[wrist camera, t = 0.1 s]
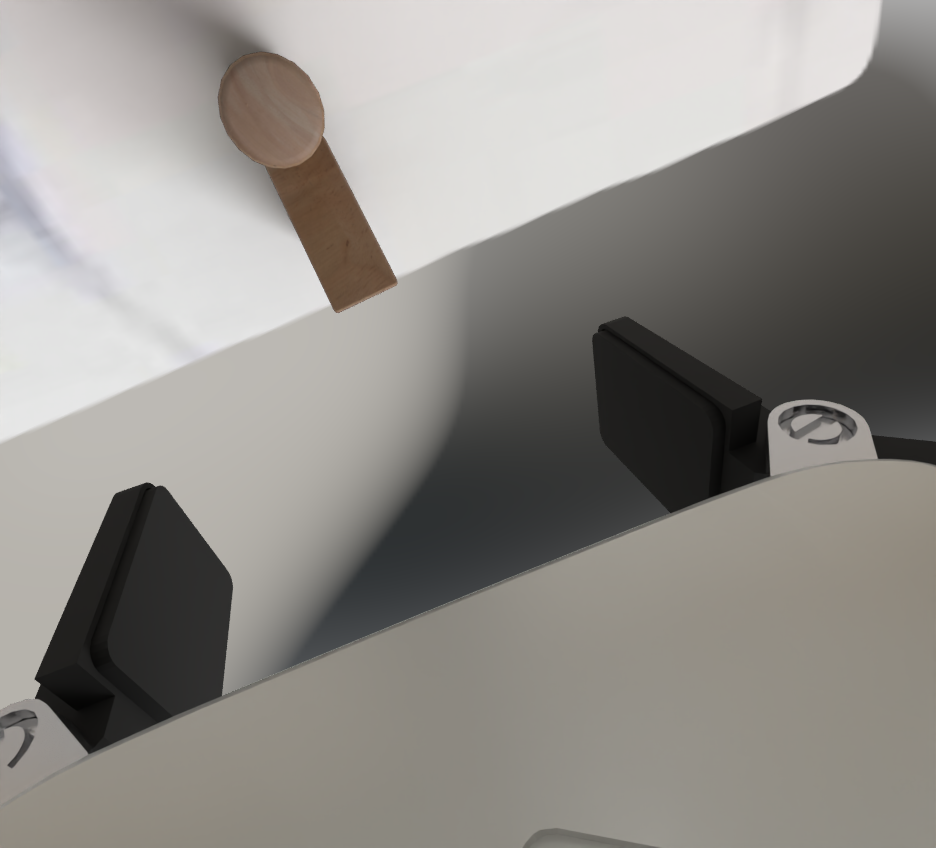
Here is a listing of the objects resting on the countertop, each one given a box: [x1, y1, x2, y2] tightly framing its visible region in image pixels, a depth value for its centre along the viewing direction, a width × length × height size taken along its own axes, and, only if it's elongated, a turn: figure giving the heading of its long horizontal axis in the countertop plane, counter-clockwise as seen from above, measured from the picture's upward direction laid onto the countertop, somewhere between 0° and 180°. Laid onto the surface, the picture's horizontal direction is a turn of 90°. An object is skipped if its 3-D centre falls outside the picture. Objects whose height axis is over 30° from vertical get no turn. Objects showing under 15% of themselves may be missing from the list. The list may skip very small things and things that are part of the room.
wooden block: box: [218, 52, 397, 313], centre depth 28 cm, size 4×11×18 cm, turn 21°
